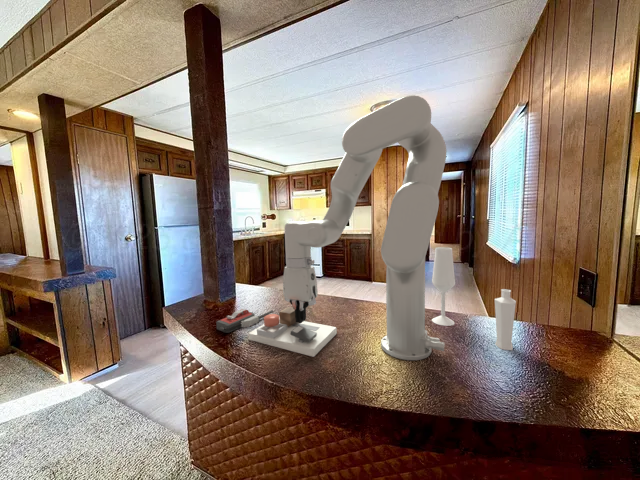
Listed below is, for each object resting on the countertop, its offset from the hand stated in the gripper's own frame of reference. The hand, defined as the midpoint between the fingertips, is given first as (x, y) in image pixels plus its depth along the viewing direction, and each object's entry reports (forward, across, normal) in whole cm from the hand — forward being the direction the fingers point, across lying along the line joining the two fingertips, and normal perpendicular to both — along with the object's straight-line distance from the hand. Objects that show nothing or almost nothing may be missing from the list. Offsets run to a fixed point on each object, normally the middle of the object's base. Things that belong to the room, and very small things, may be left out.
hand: (300, 321), depth 78 cm
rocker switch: (0, -5, +7) cm, 9 cm away
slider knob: (+1, +4, 0) cm, 4 cm away
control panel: (+4, +1, +4) cm, 5 cm away
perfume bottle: (+3, -54, -14) cm, 56 cm away
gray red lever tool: (+4, +22, +1) cm, 23 cm away
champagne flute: (+3, -38, -26) cm, 46 cm away
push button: (-1, +6, +7) cm, 9 cm away
